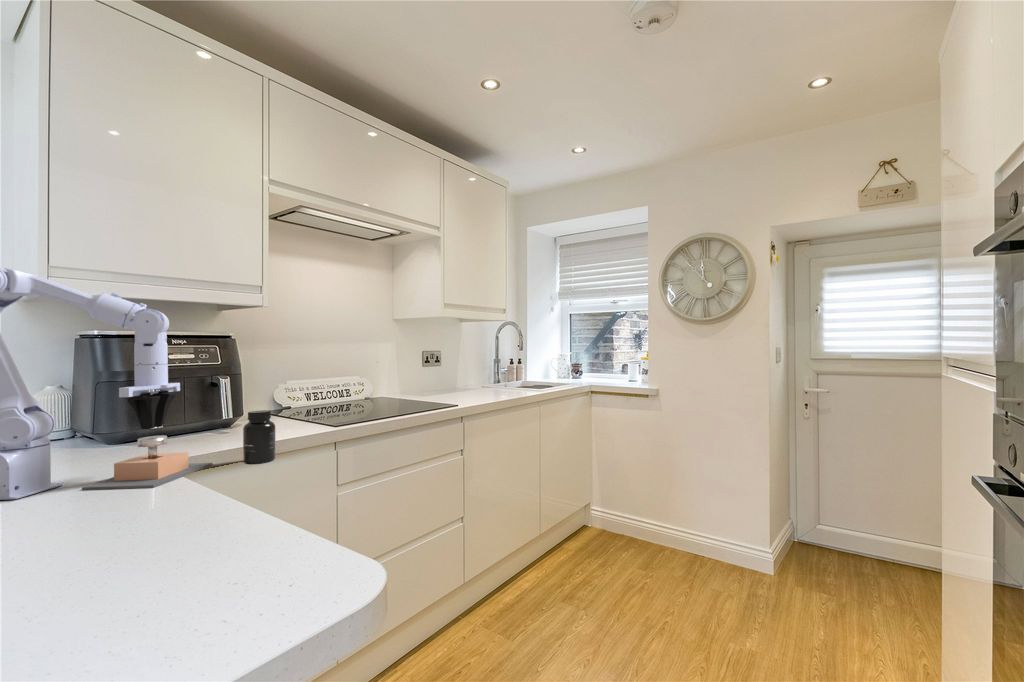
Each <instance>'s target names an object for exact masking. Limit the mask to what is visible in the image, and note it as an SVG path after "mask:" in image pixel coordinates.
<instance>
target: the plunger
mask: <svg viewBox="0 0 1024 682" xmlns="http://www.w3.org/2000/svg"><path fill="white" fill-rule="evenodd" d="M166 444H168V436H167V435H163V434H162V435H152V436H151V435H150V436H143V437H139V438H137V447H138V448H147V454H148V459H156V458H158V457H157V453H158V446H162V445H163V446H164V445H166Z"/></svg>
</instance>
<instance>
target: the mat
mask: <svg viewBox="0 0 1024 682" xmlns="http://www.w3.org/2000/svg"><path fill="white" fill-rule="evenodd" d="M213 463H214V462H200V463H199V462H195V463H193V462H192V463H189V468H187V469H184V470H182V471H179V472H176V473H174V474H171V475H168V476H165V477H163V478H160V479H147V480H117V481H114V476H113V477H110V478H108V479H104V480H101V481H98V482H94V483H91V484H89V485H85V486H82V487H81V491H88V490H89V491H92V490H94V491H96V490H97V491H98V490H123V489H124V490H126V489H128V490H129V489H151V488H152V489H153V488H156V487H159V486H162V485H164V484H167V483H169V482H172V481H175V480H177V479H179V478H183V477H185V476H187V475H191V474H192V473H195V472H197V471H201V470H203V469H206V468H208V467H211V466H213Z"/></svg>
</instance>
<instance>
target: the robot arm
mask: <svg viewBox="0 0 1024 682" xmlns="http://www.w3.org/2000/svg"><path fill="white" fill-rule="evenodd" d="M24 297H26V298H28V299H29V298H30V299H31V298H37V297H38V298H39V297H46V298H49V299H52V300H56V301H59V302H61V303H65V304H69V305H72V306H73V307H74V306H75V307H78V308H82V309H84V310H87V312H88V314H89V315H90V318H92V319H94V320H97V321H101V322H103V323H106V324H110V325H113V326H116V327H119V328H122V329H125V330H132V331H133V332H134V343H133V351H134V353H133V355H134V356H133V357H134V359H133V360H134V362H133V363H134V367H133V368H134V373H133V374H134V385H133V386H126V387H119V388H118V398H126V399H127V403H129V405H130V406H131V407H132V409H133V410H134V412H135V415H136V416H137V419H138V420H137V421H138V422H139V426H140V429H141V430H151V429H154V428H160V427H163V426H164V422H165V419H166V416H167V413H168V410H169V407H170V405H171V404H172V402H173V400H174V398H175V397H176V394H175V392H181V382H169V366H168V365H169V362H168V361H169V359H168V358H169V357H168V356H169V355H168V354H169V352H168V343H167V342H168V341H167V340H168V336H167V335H168V334H167V331H168V330H169V327H170V320H169V318H168V316H166V314H164V313H163V312H161V311H159V310H157V309H153V308H147V306H148V305H147V304H145V303H142V302H140V303H136V302H133V301H130V300H127V299H124V298H122V295H121V294H118V293H115V292H112V293H111V294H109V293H107V292H106V293H104V292H103V293H100V294H96V295H92V294H89V293H86V292H84V291H81V290H78V289H75V288H73V287H71V286H70V287H69V286H67V285H64V284H61V283H59V282H56V281H53V280H51V279H48V278H45V277H42V276H39V275H36V274H32V273H28V272H24V271H20V270H16V269H12V268H7V267H3V268H0V314H1V313H2V312H3V311H4V310H5V309H6V308H8V307H9V306H11V305H13V304H14V303H16V302H18V301H20V300H22V299H23V298H24ZM151 390H152V391H151ZM153 390H154V391H153ZM55 428H56V420H55V418H54V416H53V415H52V414H51V413H50V412H48V411H46V410H45V409H44V408H43V407H42V405H41V403H40V401H38V399H36V398H35V397H34V396H32V395H31V393H30V392H29V390H28V388H27V386H26V384H25V381H24V380H23V377H22V375H21V374H20V371H19V369H18V367H17V365H16V362H15V361H14V358H13V357H12V355H11V352H10V351H9V348H8V346H7V344H6V342H5V339H4V338H3V335H2V333H1V332H0V501H3V500H18V499H21V498H25V497H28V496H31V495H34V494H38V493H42V492H44V491H47V490H51V489H55V488H57V487H61V486H63V485H65V484H64V482H52V476H51V475H52V468H51V466H52V463H51V460H52V457H51V456H52V455H51V452H52V451H51V449H52V448H51V439H49V436H50V435H51V434H52V433H53V431H54V430H55Z"/></svg>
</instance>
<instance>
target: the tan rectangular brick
mask: <svg viewBox="0 0 1024 682" xmlns="http://www.w3.org/2000/svg"><path fill="white" fill-rule="evenodd" d="M157 457H158V458H156V459H148V453H146V454H141V455H139V456H135V457H132V458H128V459H125V460H122V461H118V462H114V463H113V477H114V481H117V480H147V479H160V478H163V477H165V476H168V475H171V474H174V473H176V472H179V471H182V470H184V469H187V468H189V464H190V463H189V452H187V451H185V452H160V453H158V452H157Z"/></svg>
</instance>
